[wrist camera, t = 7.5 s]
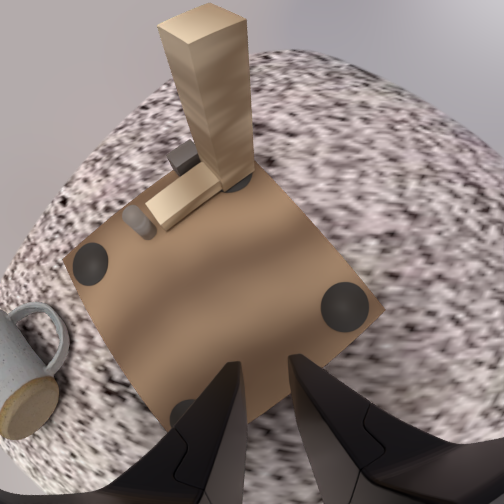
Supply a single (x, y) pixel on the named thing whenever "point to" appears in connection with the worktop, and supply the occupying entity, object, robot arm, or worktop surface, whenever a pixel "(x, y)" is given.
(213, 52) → the hinged leg
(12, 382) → the ceramic mug
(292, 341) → the stool seat
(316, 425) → the robot arm
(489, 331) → the worktop surface
